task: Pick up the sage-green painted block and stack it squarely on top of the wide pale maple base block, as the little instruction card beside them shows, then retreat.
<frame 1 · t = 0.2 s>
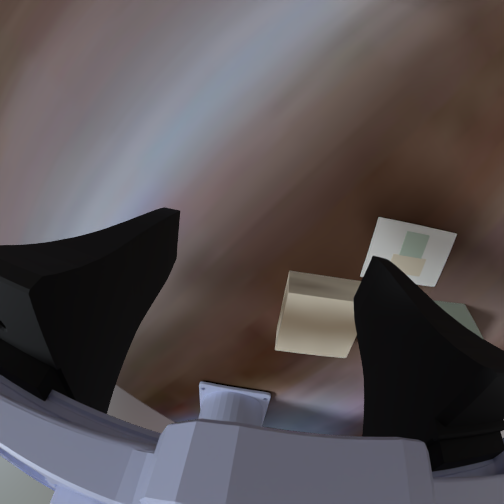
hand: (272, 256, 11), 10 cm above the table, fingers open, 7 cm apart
maple base: (318, 303, 25), on the table
sage block: (439, 318, 24), on the table
instruction card: (410, 254, 21), on the table
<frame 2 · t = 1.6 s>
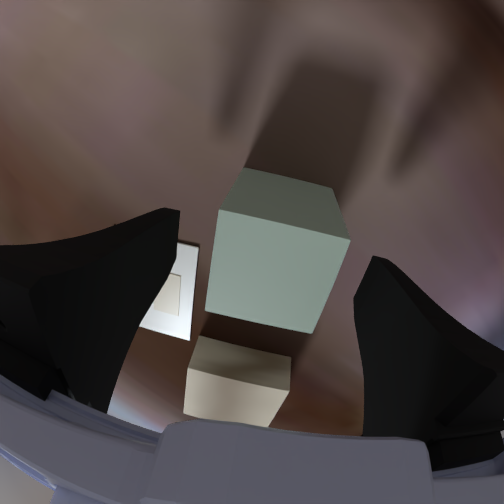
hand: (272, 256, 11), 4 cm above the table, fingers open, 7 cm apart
maple base: (237, 370, 21), on the table
sage block: (278, 217, 14), on the table
instruction card: (152, 288, 17), on the table
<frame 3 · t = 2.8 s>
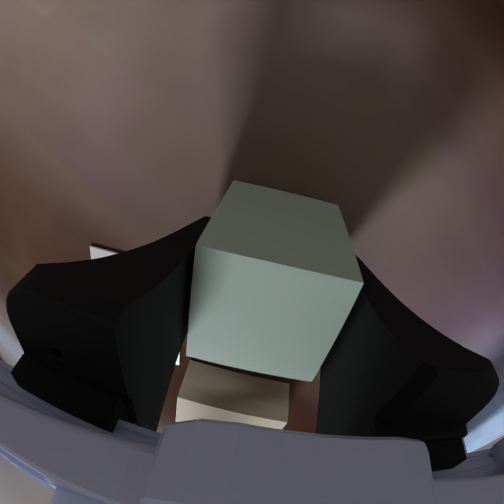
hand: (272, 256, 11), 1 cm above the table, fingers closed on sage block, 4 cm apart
maple base: (231, 394, 19), on the table
sage block: (274, 238, 12), on the table, touching gripper
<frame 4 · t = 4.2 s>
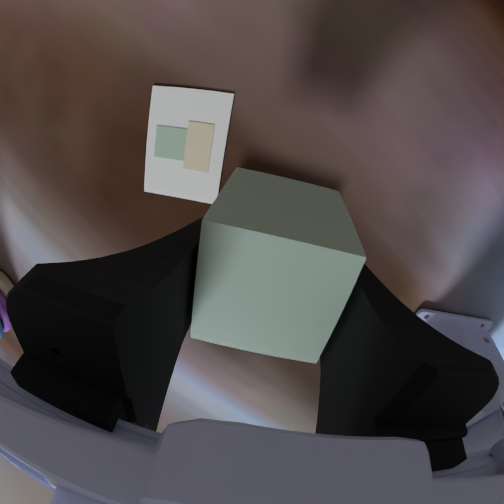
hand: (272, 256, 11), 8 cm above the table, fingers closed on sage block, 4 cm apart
sage block: (277, 224, 12), point 6 cm above the table, touching gripper
instruction card: (184, 144, 17), on the table
stacking toy: (5, 289, 28), on the table
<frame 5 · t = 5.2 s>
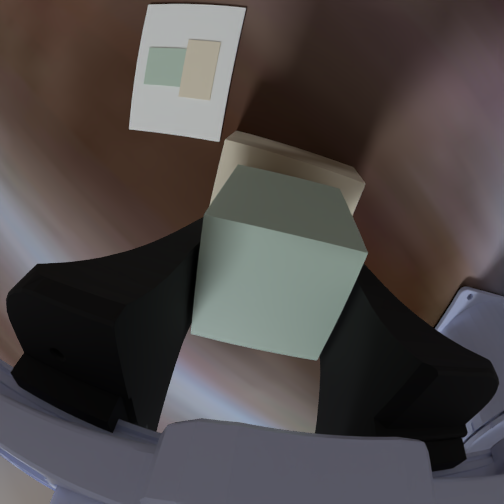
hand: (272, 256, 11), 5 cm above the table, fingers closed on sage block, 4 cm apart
maple base: (278, 200, 16), on the table
sage block: (277, 222, 12), point 3 cm above the table, touching gripper
instruction card: (182, 67, 13), on the table
when the fingers open (5 cm above the table, at t = 5.9 s): sage block stays where it is, resting on maple base.
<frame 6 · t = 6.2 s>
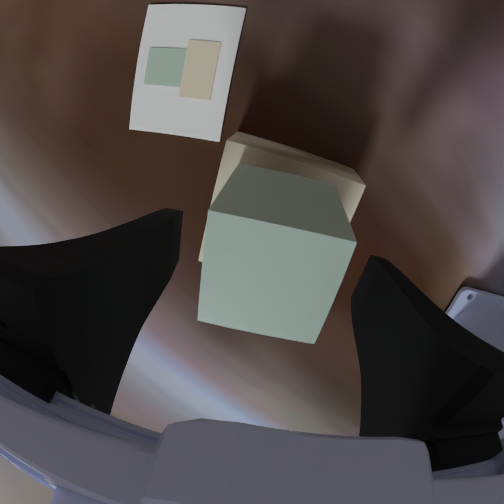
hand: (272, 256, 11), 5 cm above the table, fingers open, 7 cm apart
maple base: (279, 200, 16), on the table, touching sage block
sage block: (277, 216, 13), point 3 cm above the table, touching maple base
instruction card: (182, 67, 13), on the table
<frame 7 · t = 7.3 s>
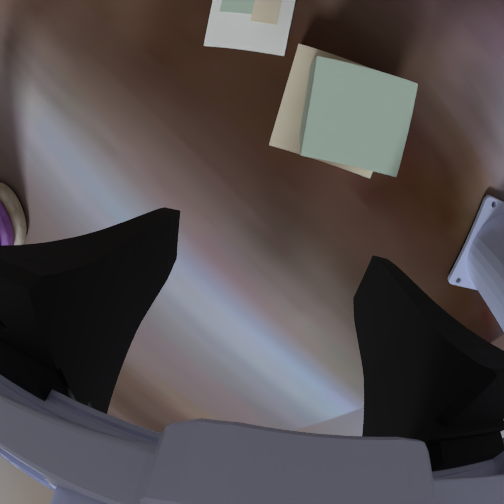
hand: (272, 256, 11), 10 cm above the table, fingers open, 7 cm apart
maple base: (331, 107, 17), on the table
sage block: (341, 107, 14), point 3 cm above the table
instruction card: (253, 1, 14), on the table
stacking toy: (7, 213, 24), on the table
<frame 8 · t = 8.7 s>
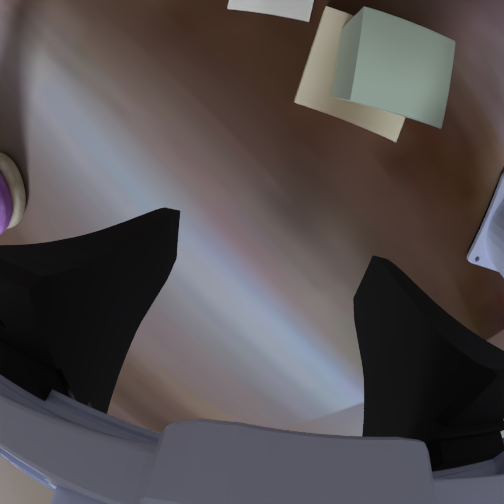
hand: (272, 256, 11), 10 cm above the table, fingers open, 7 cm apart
maple base: (353, 74, 16), on the table, touching sage block
sage block: (372, 71, 13), point 3 cm above the table, touching maple base
stacking toy: (6, 186, 22), on the table
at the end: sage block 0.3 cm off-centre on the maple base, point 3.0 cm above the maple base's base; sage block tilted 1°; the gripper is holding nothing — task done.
